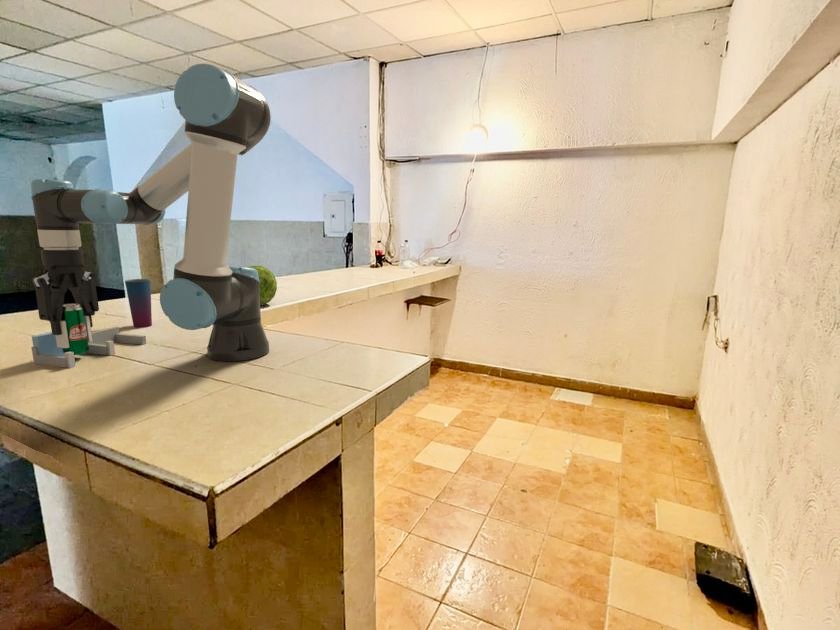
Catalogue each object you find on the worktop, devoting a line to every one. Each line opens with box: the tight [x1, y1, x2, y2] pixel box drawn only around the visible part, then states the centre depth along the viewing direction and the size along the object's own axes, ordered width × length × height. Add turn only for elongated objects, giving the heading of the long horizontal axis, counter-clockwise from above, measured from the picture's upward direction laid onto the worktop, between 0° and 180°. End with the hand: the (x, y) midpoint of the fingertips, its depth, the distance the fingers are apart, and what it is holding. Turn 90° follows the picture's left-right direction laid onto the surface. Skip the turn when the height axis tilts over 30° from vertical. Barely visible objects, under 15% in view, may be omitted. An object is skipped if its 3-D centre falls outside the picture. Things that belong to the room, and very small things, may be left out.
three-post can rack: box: [30, 326, 147, 369], centre depth 109 cm, size 11×22×6 cm, turn 167°
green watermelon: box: [246, 265, 278, 306], centre depth 180 cm, size 17×23×16 cm
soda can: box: [61, 303, 89, 356], centre depth 104 cm, size 5×5×12 cm
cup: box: [124, 278, 153, 329], centre depth 137 cm, size 7×7×15 cm
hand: (75, 344), depth 104 cm, fingers closed on soda can, 5 cm apart
